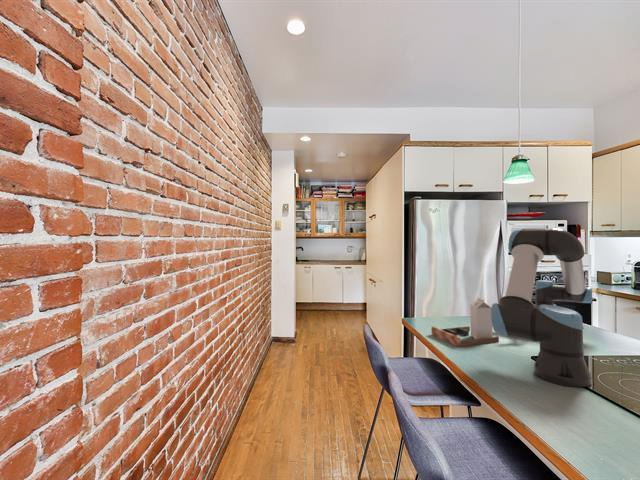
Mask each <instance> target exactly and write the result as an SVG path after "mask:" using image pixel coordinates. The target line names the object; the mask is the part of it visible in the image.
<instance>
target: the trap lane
mask: <svg viewBox="0 0 640 480" xmlns="http://www.w3.org/2000/svg"><path fill="white" fill-rule="evenodd" d="M469 332H471V326H469V325H468V326H467V325H466V326H459V327H449V328H438V327H436V326H431V335H432V336H434V337H436V338H437V339H441V340H442V339H443V340H442V341H444V342H447V343H449V344H451V345H454V346H455V347H458V348H460V347H461V348H462V347H469V346H477V345H478V346H479V345H486V344H493V343H499V341H500V337H499V336H493V337H488V338H480V339H475V338H472V339H465V340H461V337H460V336H457V335H458V334H459V335H463V336H464V337H467V336H470V335H469V334H470V333H469Z"/></svg>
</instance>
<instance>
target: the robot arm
mask: <svg viewBox="0 0 640 480" xmlns="http://www.w3.org/2000/svg"><path fill="white" fill-rule="evenodd" d="M507 245H508V246H507V247H508V253H509V254H510V255H511V256H512V258H513V261H512V266H511V270H510V275H509V279H508V284H507V287H506V292H505V295H504V296H502V297H501V298H499V302H498V303H497V302H496V303H493V304H492V305H491V306H490V307H491V320H492V328H493V331H494V333H495V334H497V335H499V336H503V337H507V338H514V339H519V340H525V341H530V342H536V343H539V351H538V355H537V357H536V359H535V362H534V365H533V370H534V371H533V372H534V374H535V375H537V377H539V378H540V379H543V380H545V381H547V382H550V383H554V384H557V385H560V386H565V387H573V388H574V387H575V388H585V387H589V386H591V385H592V375H591V373H590V371H589V368H588V366H587V365H588V364H587V363H586V360H585V357H584V356H585V355H584V331H583V330H584V329H585V327H584V325H583V323H584V322H583V316H582V315H581V314H580V313H579V312H578V311H575V310H573V309H571V308H570V309H569V308H568V307H562V306H558V305H557V304H555V303H554V302H555V301H560V302H561V301H562V302H571V303H580V304H591V303H593V288H592V287H587V286H586V279H585V272H584V266H583V265H584V264H583V258H584V257H585V250H584V245H583V243H582V242H581V241H580V240H579V239H578V238H577V237H576V236H575V235H574V234H572V233H570V232H569V231H567V230H565V229H563V228H562V229H561V228H557V227H556V228H555V227H551V228H522V229H520V228H519V229H515V230H513V231H512V232H511V233H510V235H509V239H508V244H507ZM544 256H550V257H551V256H555V257H556V259H558V260H559V265H560V269H561V275H562V280H563V283H564V285H563V284H561V285H559V284H554V281H552V280H547V279H543V280H542V279H538V280H536V277H537V276H536V275H537V270H538V265H539V263H540V262H541V261H543V259H544ZM533 293H534V294H535V295H534V296H535V304H534V303H533V302H532V299H533Z"/></svg>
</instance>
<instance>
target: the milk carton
mask: <svg viewBox="0 0 640 480" xmlns="http://www.w3.org/2000/svg"><path fill="white" fill-rule="evenodd" d="M469 306H470V307H469V308H470V309H469V310H470V336H471V337H472V339H480V338H488V337H494V335H493V334H494V333H493V331H494V329H493V326H492V320H491V307H492V306H490V305H488V304H487V302H485V299H483V298H481V297H479V296H477V299H476V300H475V301H473V303H471V304H470V305H469Z"/></svg>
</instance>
